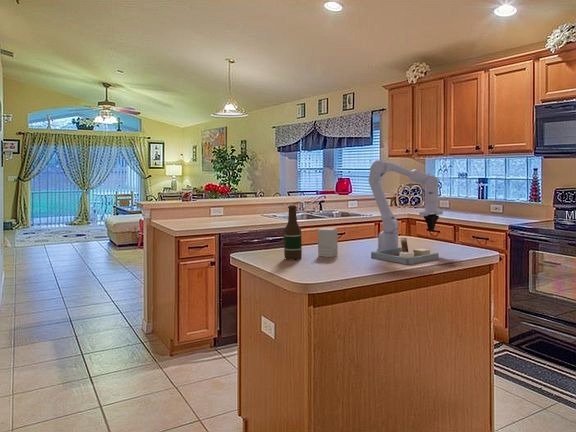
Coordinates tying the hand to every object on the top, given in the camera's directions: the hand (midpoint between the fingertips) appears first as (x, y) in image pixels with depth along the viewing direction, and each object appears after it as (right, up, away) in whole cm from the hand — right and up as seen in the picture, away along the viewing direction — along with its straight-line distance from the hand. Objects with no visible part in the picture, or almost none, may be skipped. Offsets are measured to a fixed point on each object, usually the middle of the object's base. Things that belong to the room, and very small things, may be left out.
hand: (431, 230), depth 220 cm
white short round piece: (-17, -13, -21) cm, 29 cm away
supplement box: (-49, -12, -2) cm, 50 cm away
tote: (-15, -12, -12) cm, 23 cm away
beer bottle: (-65, -13, -9) cm, 67 cm away
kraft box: (-8, -12, -13) cm, 19 cm away
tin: (-14, -12, -10) cm, 21 cm away
